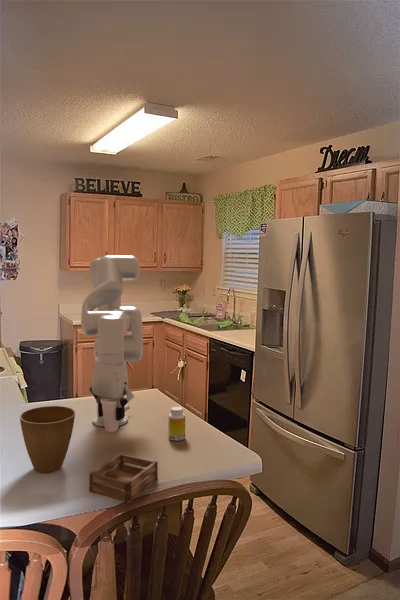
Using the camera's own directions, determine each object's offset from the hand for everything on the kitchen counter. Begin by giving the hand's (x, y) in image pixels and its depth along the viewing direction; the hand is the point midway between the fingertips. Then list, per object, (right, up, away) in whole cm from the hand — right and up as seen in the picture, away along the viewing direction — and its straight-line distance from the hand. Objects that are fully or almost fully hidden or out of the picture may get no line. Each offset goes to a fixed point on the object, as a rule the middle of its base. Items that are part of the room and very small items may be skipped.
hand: (111, 416), depth 142 cm
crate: (+6, -15, -15) cm, 22 cm away
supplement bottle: (+18, -12, +18) cm, 28 cm away
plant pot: (-17, -14, -5) cm, 22 cm away
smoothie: (0, -4, +1) cm, 4 cm away
